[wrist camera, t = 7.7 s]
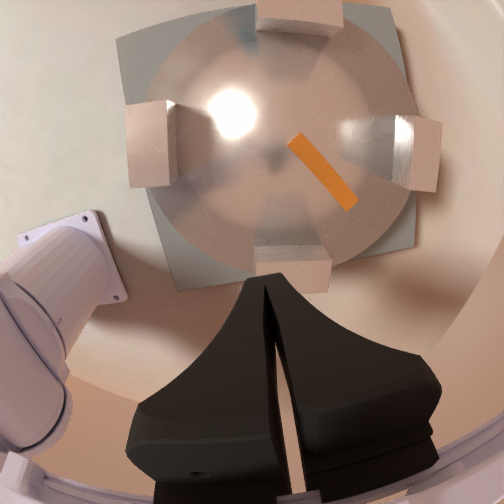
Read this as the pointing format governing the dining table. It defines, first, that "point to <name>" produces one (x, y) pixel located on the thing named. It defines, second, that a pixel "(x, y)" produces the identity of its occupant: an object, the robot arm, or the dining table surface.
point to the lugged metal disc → (281, 140)
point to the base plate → (135, 90)
